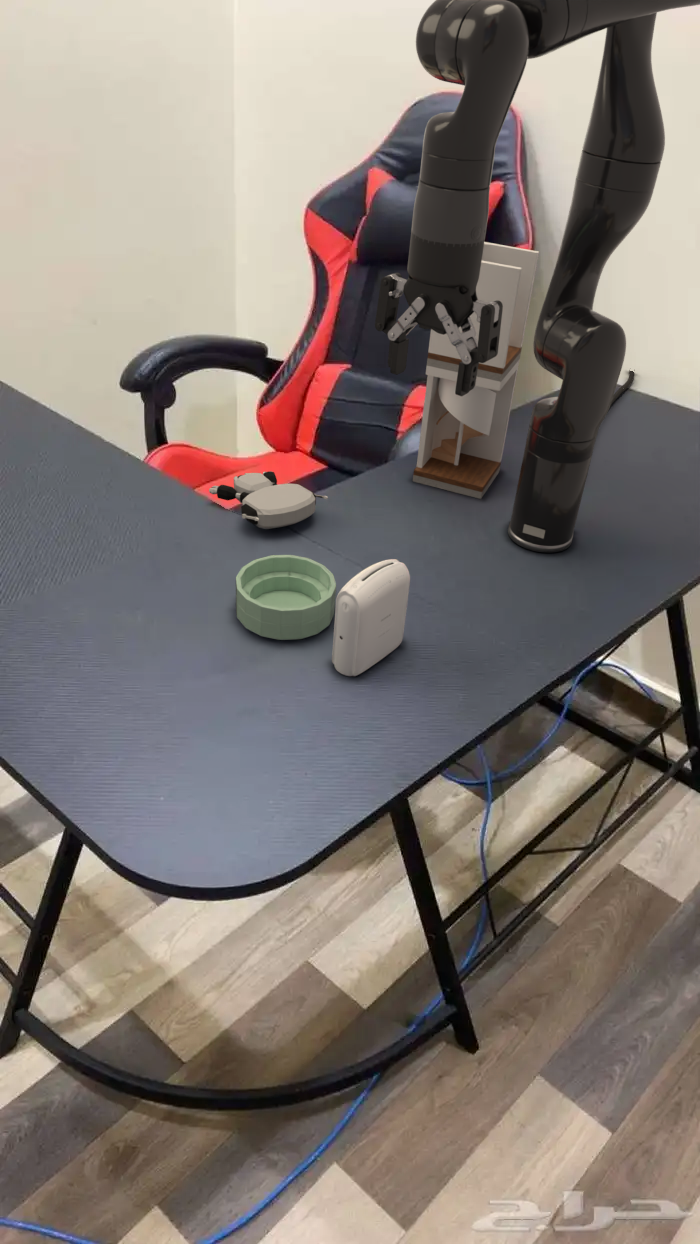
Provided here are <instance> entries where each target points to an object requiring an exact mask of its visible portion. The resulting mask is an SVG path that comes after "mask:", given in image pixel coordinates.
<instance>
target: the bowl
mask: <svg viewBox="0 0 700 1244" xmlns="http://www.w3.org/2000/svg"><path fill="white" fill-rule="evenodd" d="M336 598H337V582H336V579H335V575H334V573H332V572H331V570H330V569H328V568H327V567H326V565H324V564H322V563H320V562H318V561H316V560H313V559H311V558H310V557H304V556H300V555H294V554H271V555H267V556H264V557H259V558H256V559H253V560H251V561H250V562H248V563H247V564H245V565H244V566H241V568H240V570H239V572H238V573H237V575H236V577H235V613H236V619H237V620H239V622H240V623H241V624H242V626H243V627H244V628H245V629H246V630H249V631H250V632H253V633H254V634H256V635H259V636H260V637H264V638H269V639H272V640H273V639H274V640H278V641H280V640H281V641H285V640H302V639H305V638H309V637H312V636H315V635H318V634H320V632H322V631H323V630H325V629H326V628H327V627H329V626H330V624H331V623H332V620H333V618H334V617H335V609H336Z"/></svg>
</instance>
